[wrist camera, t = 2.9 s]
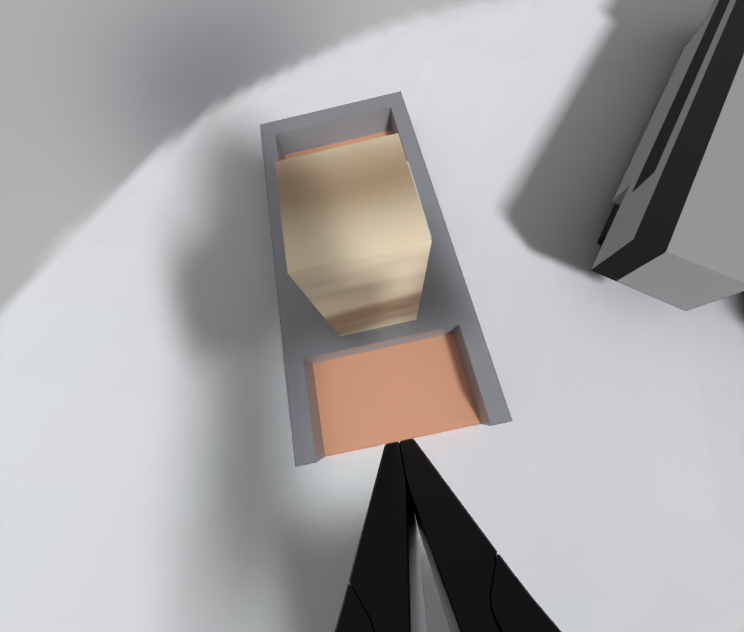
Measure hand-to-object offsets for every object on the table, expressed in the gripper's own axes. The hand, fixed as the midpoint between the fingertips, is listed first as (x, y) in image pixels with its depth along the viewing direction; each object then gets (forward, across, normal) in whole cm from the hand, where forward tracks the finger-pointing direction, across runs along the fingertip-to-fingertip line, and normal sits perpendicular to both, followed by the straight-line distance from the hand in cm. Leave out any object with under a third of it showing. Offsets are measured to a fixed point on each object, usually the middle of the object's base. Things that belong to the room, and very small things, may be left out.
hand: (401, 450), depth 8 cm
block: (+12, 0, 0) cm, 12 cm away
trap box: (+17, 0, -1) cm, 17 cm away
